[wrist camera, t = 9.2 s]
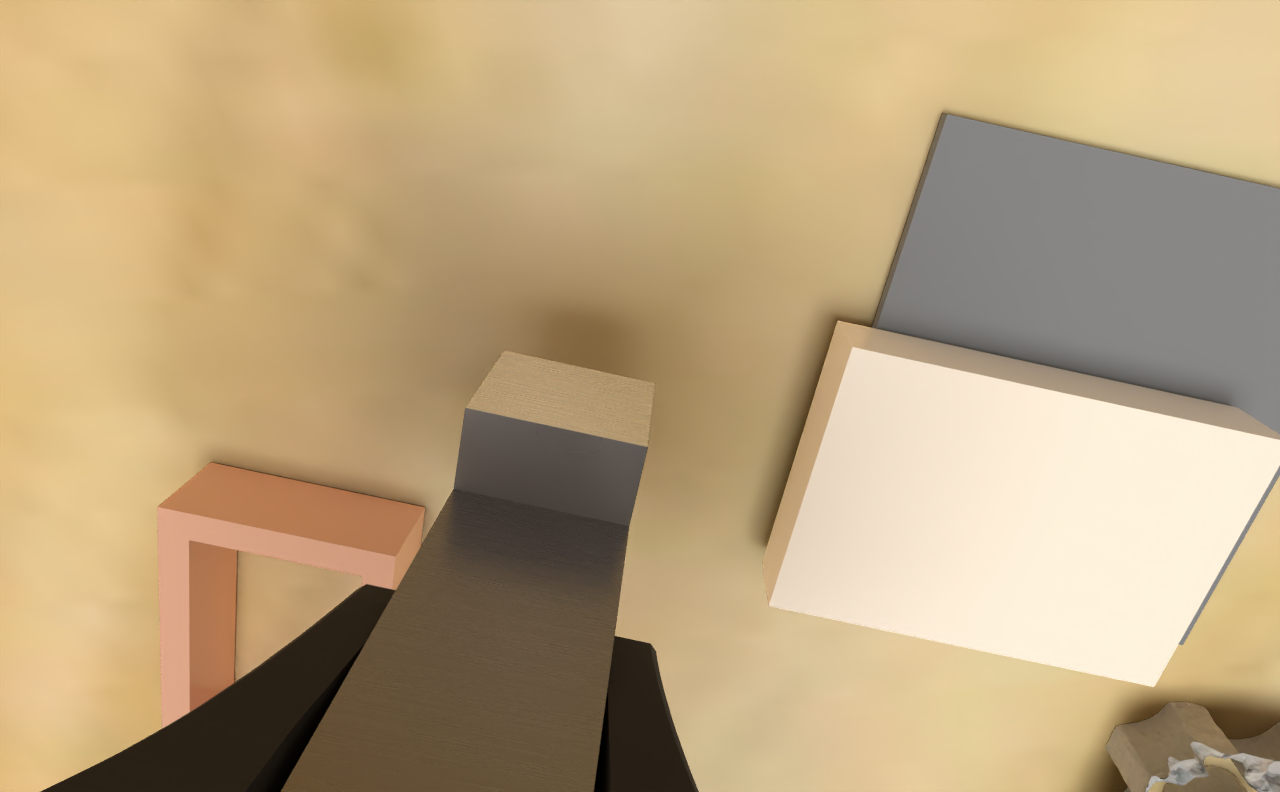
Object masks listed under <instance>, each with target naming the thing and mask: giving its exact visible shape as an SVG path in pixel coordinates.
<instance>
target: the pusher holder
mask: <svg viewBox="0 0 1280 792" xmlns="http://www.w3.org/2000/svg"><path fill="white" fill-rule="evenodd" d="M157 510H158V559H159V607H160V656H161V704H162V728H164V727H166V726H168V725H169V724H171V723H173V722H174V721H176V720H178V719H179V718H181V717H182V716H184V715H186V714H187V713H189V712H191V711H192V710H194V709H195V708H197V707H199V706H200V705H202V704H203V703H205V702H206V701H208V700H209V699H211V698H212V697H214V696H215V695H217V694H218V693H220V692H221V691H223V690H224V689H226V688H227V687H229V686H230V685H232V684H233V683H234V671H235V627H236V582H237V550H239V551H244V552H249V553H253V554H258V555H263V556H268V557H273V558H277V559H282V560H287V561H292V562H297V563H301V564H306V565H311V566H316V567H321V568H325V569H330V570H335V571H340V572H345V573H349V574H354V575H359V576H362V586H364V585H366V584H369V585H374V586H378V587H383V588H388V589H393V590H396V589H397V587H398V585H399V584H400V582H401V580H402V578H403V577H404V575H405V573H406V571H407V570H408V568H409V566H410V564H411V563H412V561H413V559H414V557H415V556H416V554H417V552H418V550H419V549H420V547H421V539H422V531H423V522H424V514H425V507H421V506H416V505H411V504H406V503H402V502H397V501H392V500H387V499H383V498H378V497H373V496H368V495H364V494H359V493H354V492H349V491H345V490H340V489H335V488H330V487H326V486H321V485H316V484H311V483H307V482H302V481H297V480H292V479H288V478H283V477H278V476H273V475H269V474H264V473H259V472H254V471H249V470H245V469H240V468H235V467H230V466H226V465H221V464H216V463H209V464H208V465H207V466H206V467H205V468H203V469H202V470H201V471H200V472H199V473H197V474H196V475H195V476H194V477H193V478H191V479H190V480H189V481H188V482H187V483H185V484H184V485H183V486H182V487H181V488H179V489H178V490H177V491H176V492H175V493H174V494H172V495H171V496H170V497H169V498H168V499H166V500H165V501H164V502H163V503H162V504H160V505H159V506H158V507H157ZM362 586H361V587H362Z"/></svg>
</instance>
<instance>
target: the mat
mask: <svg viewBox="0 0 1280 792" xmlns="http://www.w3.org/2000/svg"><path fill="white" fill-rule="evenodd" d="M872 328H875V329H879V330H884V331H889V332H893V333H898V334H902V335H907V336H912V337H916V338H921V339H925V340H930V341H935V342H939V343H944V344H948V345H953V346H957V347H962V348H967V349H971V350H976V351H980V352H985V353H990V354H994V355H999V356H1003V357H1008V358H1012V359H1017V360H1022V361H1026V362H1031V363H1035V364H1040V365H1045V366H1049V367H1054V368H1058V369H1063V370H1068V371H1072V372H1077V373H1081V374H1086V375H1090V376H1095V377H1100V378H1104V379H1109V380H1113V381H1118V382H1123V383H1127V384H1132V385H1136V386H1141V387H1145V388H1150V389H1155V390H1159V391H1164V392H1168V393H1173V394H1178V395H1182V396H1187V397H1191V398H1196V399H1201V400H1205V401H1210V402H1214V403H1219V404H1223V405H1228V406H1233V407H1237V408H1239V409H1241V410H1242V411H1244V412H1245V413H1247V414H1249V415H1250V416H1252V417H1253V418H1255V419H1256V420H1258V421H1259V422H1261V423H1263V424H1264V425H1266V426H1267V427H1269V428H1270V429H1272V430H1274V431H1275V432H1277V433H1278V434H1280V189H1279V188H1274V187H1270V186H1265V185H1261V184H1257V183H1252V182H1248V181H1243V180H1239V179H1234V178H1230V177H1225V176H1221V175H1216V174H1212V173H1207V172H1203V171H1199V170H1194V169H1190V168H1185V167H1181V166H1176V165H1172V164H1167V163H1163V162H1158V161H1154V160H1150V159H1145V158H1141V157H1136V156H1132V155H1127V154H1123V153H1118V152H1114V151H1109V150H1105V149H1101V148H1096V147H1092V146H1087V145H1083V144H1078V143H1074V142H1069V141H1065V140H1060V139H1056V138H1051V137H1047V136H1043V135H1038V134H1034V133H1029V132H1025V131H1020V130H1016V129H1011V128H1007V127H1002V126H998V125H994V124H989V123H985V122H980V121H976V120H971V119H967V118H962V117H958V116H953V115H949V114H944V113H942V116H941V119H940V122H939V125H938V128H937V131H936V134H935V137H934V140H933V143H932V146H931V149H930V152H929V155H928V158H927V161H926V164H925V167H924V170H923V173H922V176H921V179H920V182H919V185H918V188H917V191H916V194H915V197H914V200H913V203H912V207H911V210H910V213H909V216H908V219H907V222H906V225H905V228H904V231H903V234H902V237H901V240H900V243H899V246H898V249H897V252H896V255H895V258H894V261H893V264H892V267H891V270H890V273H889V276H888V279H887V282H886V285H885V288H884V291H883V294H882V297H881V300H880V304H879V307H878V310H877V313H876V316H875V319H874V322H873V325H872ZM1279 475H1280V466H1279V468H1278V470H1277V471H1276V473H1275V475H1274V477H1273V478H1272V480H1271V482H1270V484H1269V485H1268V487H1267V489H1266V491H1265V493H1264V494H1263V496H1262V498H1261V500H1260V501H1259V503H1258V505H1257V507H1256V508H1255V510H1254V512H1253V514H1252V515H1251V517H1250V519H1249V521H1248V522H1247V524H1246V526H1245V528H1244V530H1243V531H1242V533H1241V535H1240V537H1239V538H1238V540H1237V542H1236V544H1235V545H1234V547H1233V549H1232V551H1231V552H1230V554H1229V556H1228V558H1227V559H1226V561H1225V563H1224V565H1223V567H1222V568H1221V570H1220V572H1219V574H1218V575H1217V577H1216V579H1215V581H1214V582H1213V584H1212V586H1211V588H1210V589H1209V591H1208V593H1207V595H1206V596H1205V598H1204V600H1203V602H1202V604H1201V605H1200V607H1199V609H1198V611H1197V612H1196V614H1195V616H1194V618H1193V619H1192V621H1191V623H1190V625H1189V626H1188V628H1187V630H1186V632H1185V633H1184V635H1183V637H1182V639H1181V641H1180V642H1179V644H1180V645H1183V644H1184V642H1185V640H1186V639H1187V637H1188V635H1189V633H1190V631H1191V630H1192V628H1193V626H1194V624H1195V623H1196V621H1197V619H1198V617H1199V616H1200V614H1201V612H1202V610H1203V609H1204V607H1205V605H1206V603H1207V602H1208V600H1209V598H1210V596H1211V595H1212V593H1213V591H1214V589H1215V588H1216V586H1217V584H1218V582H1219V581H1220V579H1221V577H1222V575H1223V574H1224V572H1225V570H1226V568H1227V567H1228V565H1229V563H1230V561H1231V560H1232V558H1233V556H1234V554H1235V553H1236V551H1237V549H1238V547H1239V546H1240V544H1241V542H1242V540H1243V539H1244V537H1245V535H1246V533H1247V532H1248V530H1249V528H1250V526H1251V525H1252V523H1253V521H1254V519H1255V518H1256V516H1257V514H1258V512H1259V511H1260V509H1261V507H1262V505H1263V503H1264V502H1265V500H1266V498H1267V496H1268V495H1269V493H1270V491H1271V489H1272V488H1273V486H1274V484H1275V482H1276V481H1277V479H1278V477H1279Z"/></svg>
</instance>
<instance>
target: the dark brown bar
mask: <svg viewBox="0 0 1280 792" xmlns="http://www.w3.org/2000/svg"><path fill="white" fill-rule="evenodd" d="M654 388H655V383H653V382H648V381H643V380H639V379H634V378H630V377H625V376H620V375H616V374H611V373H607V372H602V371H597V370H593V369H588V368H584V367H579V366H574V365H570V364H565V363H561V362H556V361H551V360H547V359H542V358H537V357H533V356H528V355H524V354H519V353H514V352H510V351H505V350H504V351H503V353H502V354H501V356H500V357H499V359H498V360H497V362H496V363H495V365H494V366H493V368H492V369H491V370H490V372H489V373H488V375H487V376H486V378H485V379H484V381H483V382H482V384H481V385H480V387H479V388H478V390H477V391H476V393H475V394H474V396H473V397H472V399H471V400H470V402H469V403H468V404H467V406H466V407H465V414H464V421H463V428H462V435H461V442H460V449H459V456H458V462H457V469H456V476H455V483H454V489H453V491H452V493H451V494H450V496H449V498H448V500H447V501H446V503H445V505H444V507H443V508H442V510H441V512H440V514H439V515H438V517H437V519H436V521H435V522H434V524H433V526H432V528H431V529H430V531H429V533H428V535H427V536H426V538H425V540H424V542H423V543H422V545H421V547H420V549H419V550H418V552H417V554H416V556H415V557H414V559H413V561H412V563H411V564H410V566H409V568H408V570H407V571H406V573H405V575H404V577H403V578H402V580H401V582H400V584H399V585H398V587H397V589H396V591H395V592H394V594H393V596H392V598H391V599H390V601H389V603H388V605H387V606H386V608H385V610H384V612H383V613H382V615H381V617H380V619H379V620H378V622H377V624H376V626H375V627H374V629H373V631H372V633H371V634H370V636H369V638H368V640H367V641H366V643H365V645H364V647H363V648H362V650H361V652H360V654H359V655H358V657H357V659H356V661H355V662H354V664H353V666H352V668H351V669H350V671H349V673H348V675H347V676H346V678H345V680H344V682H343V683H342V685H341V687H340V689H339V690H338V692H337V694H336V696H335V697H334V699H333V701H332V703H331V704H330V706H329V708H328V710H327V711H326V713H325V715H324V717H323V718H322V720H321V722H320V724H319V725H318V727H317V729H316V731H315V732H314V734H313V736H312V738H311V739H310V741H309V743H308V745H307V746H306V748H305V750H304V752H303V753H302V755H301V757H300V759H299V760H298V762H297V764H296V766H295V767H294V769H293V771H292V773H291V774H290V776H289V778H288V780H287V781H286V783H285V785H284V787H283V788H282V790H281V792H594V785H595V778H596V770H597V763H598V755H599V748H600V740H601V733H602V726H603V718H604V711H605V703H606V696H607V688H608V681H609V673H610V666H611V658H612V651H613V643H614V636H615V628H616V621H617V613H618V606H619V599H620V591H621V584H622V576H623V569H624V561H625V554H626V546H627V539H628V531H629V525H630V521H631V516H632V512H633V508H634V504H635V499H636V495H637V491H638V487H639V482H640V478H641V474H642V470H643V465H644V461H645V457H646V453H647V448H648V441H649V432H650V423H651V414H652V406H653V397H654Z"/></svg>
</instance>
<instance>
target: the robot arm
mask: <svg viewBox="0 0 1280 792" xmlns="http://www.w3.org/2000/svg"><path fill="white" fill-rule="evenodd" d="M395 591H396V590H393V589H388V588H383V587H378V586H374V585H369V584H366V585H364V586H362V587H360V588H359V589H357V590H356V591H355V592H354V593H352V594H351V595H350V596H349V597H347V598H346V599H345V600H344V601H343V602H341V603H340V604H339V605H338V606H336V607H335V608H334V609H333V610H332V611H330V612H329V613H328V614H327V615H325V616H324V617H323V618H322V619H320V620H319V621H318V622H317V623H315V624H314V625H313V626H311V627H310V628H309V629H308V630H306V631H305V632H304V633H302V634H301V635H300V636H299V637H297V638H296V639H295V640H293V641H292V642H291V643H289V644H288V645H287V646H285V647H284V648H282V649H281V650H280V651H278V652H277V653H276V654H274V655H273V656H272V657H270V658H269V659H268V660H266V661H265V662H263V663H262V664H261V665H259V666H258V667H257V668H255V669H254V670H252V671H251V672H250V673H248V674H247V675H245V676H244V677H242V678H241V679H239V680H238V681H236V682H235V683H233V684H232V685H230V686H229V687H227V688H226V689H224V690H223V691H221V692H220V693H218V694H217V695H215V696H214V697H212V698H211V699H209V700H208V701H206V702H205V703H203V704H202V705H200V706H199V707H197V708H195V709H194V710H192V711H191V712H189V713H187V714H186V715H184V716H182V717H181V718H179V719H178V720H176V721H174V722H173V723H171V724H169V725H168V726H166V727H164V728H162V729H161V730H159V731H157V732H156V733H154V734H152V735H150V736H149V737H147V738H145V739H143V740H141V741H140V742H138V743H136V744H134V745H133V746H131V747H129V748H127V749H125V750H123V751H122V752H120V753H118V754H116V755H114V756H112V757H110V758H108V759H106V760H104V761H102V762H100V763H98V764H96V765H94V766H92V767H90V768H88V769H86V770H84V771H82V772H80V773H78V774H76V775H74V776H72V777H70V778H68V779H66V780H64V781H62V782H59V783H57V784H55V785H53V786H51V787H49V788H47V789H45V790H43V791H41V792H281V790H282V788H283V787H284V785H285V783H286V781H287V780H288V778H289V776H290V774H291V773H292V771H293V769H294V767H295V766H296V764H297V762H298V760H299V759H300V757H301V755H302V753H303V752H304V750H305V748H306V746H307V745H308V743H309V741H310V739H311V738H312V736H313V734H314V732H315V731H316V729H317V727H318V725H319V724H320V722H321V720H322V718H323V717H324V715H325V713H326V711H327V710H328V708H329V706H330V704H331V703H332V701H333V699H334V697H335V696H336V694H337V692H338V690H339V689H340V687H341V685H342V683H343V682H344V680H345V678H346V676H347V675H348V673H349V671H350V669H351V668H352V666H353V664H354V662H355V661H356V659H357V657H358V655H359V654H360V652H361V650H362V648H363V647H364V645H365V643H366V641H367V640H368V638H369V636H370V634H371V633H372V631H373V629H374V627H375V626H376V624H377V622H378V620H379V619H380V617H381V615H382V613H383V612H384V610H385V608H386V606H387V605H388V603H389V601H390V599H391V598H392V596H393V594H394V592H395ZM594 792H699V791H698V789H697V787H696V784H695V782H694V779H693V776H692V774H691V771H690V769H689V766H688V763H687V761H686V758H685V755H684V752H683V749H682V747H681V744H680V741H679V738H678V735H677V732H676V730H675V726H674V723H673V720H672V717H671V714H670V710H669V707H668V703H667V700H666V696H665V693H664V689H663V685H662V681H661V676H660V672H659V667H658V662H657V656H656V651H655V649H654V648H653V647H652V645H651V644H650V643H645V642H640V641H636V640H631V639H626V638H621V637H617V636H614V643H613V651H612V658H611V666H610V673H609V681H608V688H607V696H606V703H605V711H604V718H603V726H602V733H601V740H600V748H599V755H598V763H597V770H596V778H595V785H594Z"/></svg>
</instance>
